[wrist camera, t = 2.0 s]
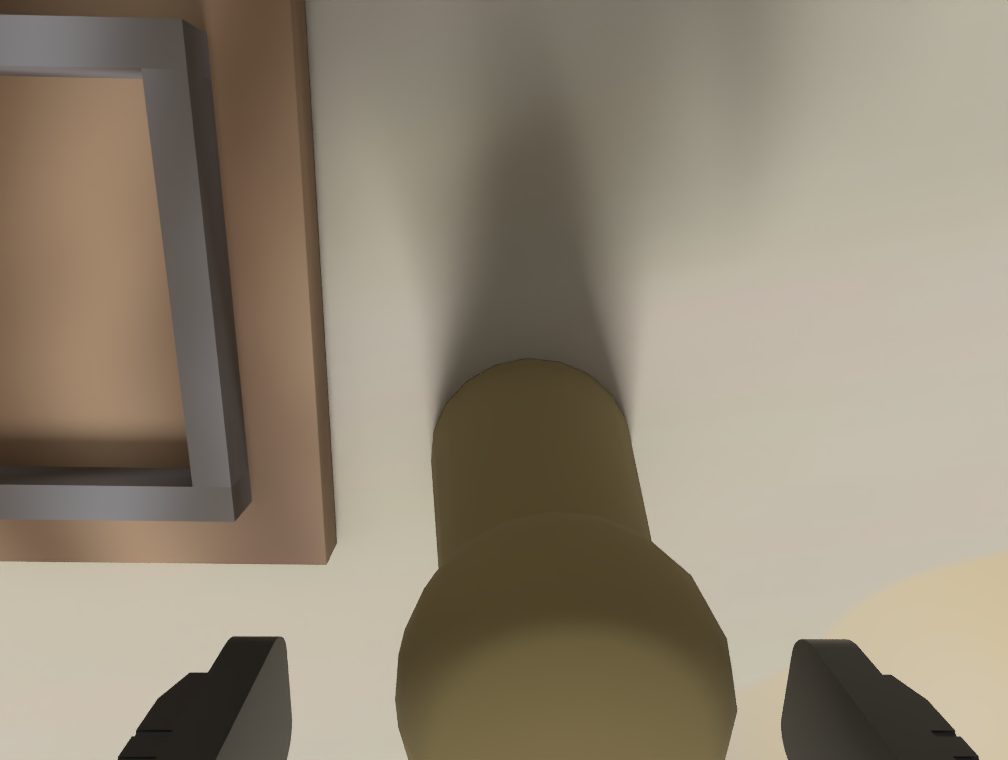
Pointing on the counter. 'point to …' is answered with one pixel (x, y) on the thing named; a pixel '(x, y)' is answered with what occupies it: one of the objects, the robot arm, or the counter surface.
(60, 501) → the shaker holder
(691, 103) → the counter surface
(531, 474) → the cork
